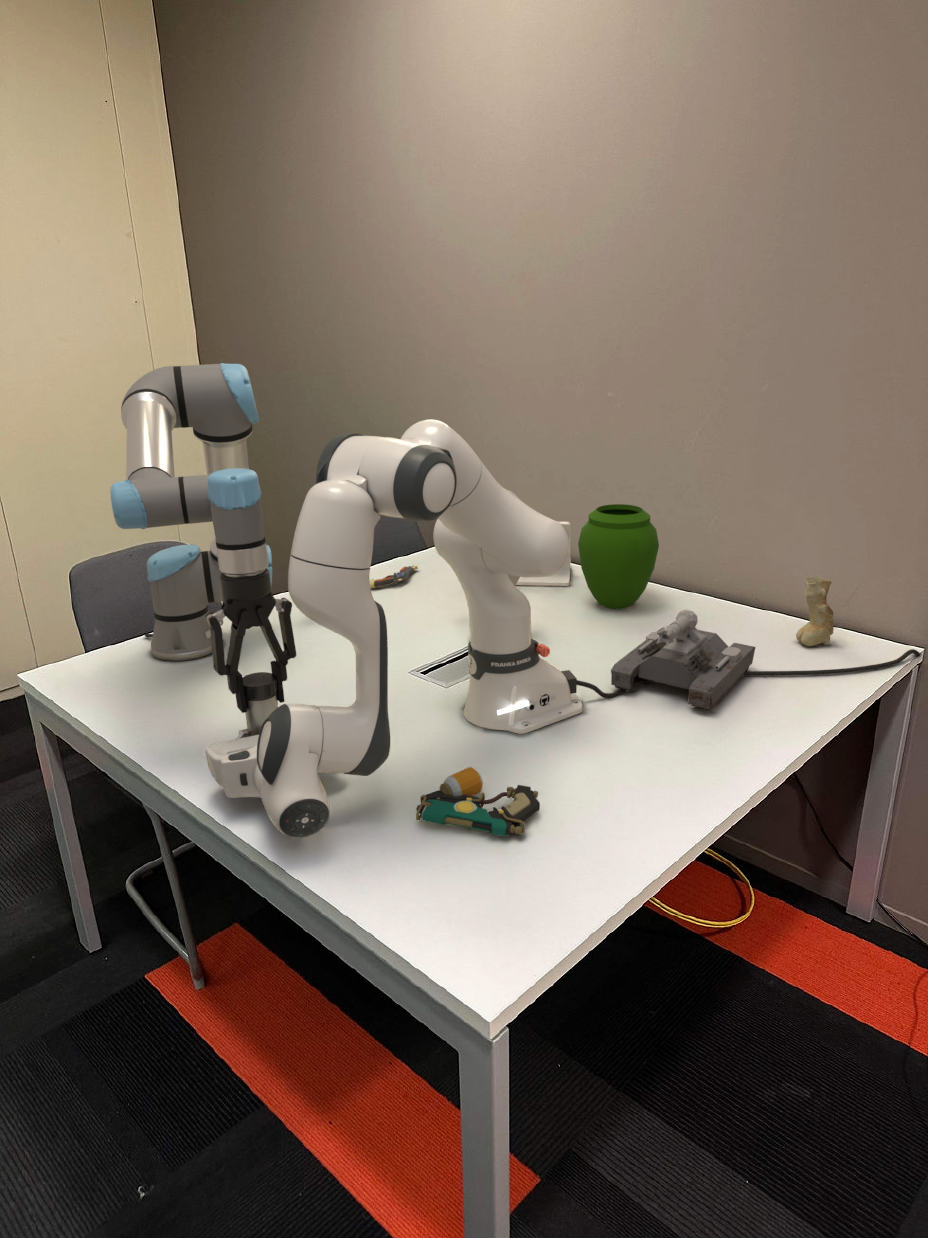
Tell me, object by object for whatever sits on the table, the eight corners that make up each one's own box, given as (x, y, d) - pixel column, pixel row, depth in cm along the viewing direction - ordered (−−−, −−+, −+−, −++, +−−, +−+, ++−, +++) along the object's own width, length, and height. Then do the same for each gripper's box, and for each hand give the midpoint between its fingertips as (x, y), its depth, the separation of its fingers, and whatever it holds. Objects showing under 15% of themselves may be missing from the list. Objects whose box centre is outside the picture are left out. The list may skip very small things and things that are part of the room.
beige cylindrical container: (285, 756, 148) (276, 674, 142) (283, 772, 143) (273, 688, 137) (254, 758, 147) (243, 677, 142) (250, 775, 142) (239, 691, 137)
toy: (661, 649, 187) (665, 584, 181) (753, 669, 176) (760, 600, 170) (609, 692, 167) (612, 620, 162) (708, 717, 156) (715, 641, 151)
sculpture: (791, 639, 190) (799, 575, 184) (822, 637, 190) (830, 573, 185) (804, 649, 184) (812, 583, 179) (836, 647, 185) (845, 581, 180)
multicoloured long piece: (366, 581, 230) (401, 578, 228) (385, 565, 248) (418, 562, 246) (367, 590, 231) (403, 587, 228) (386, 574, 248) (419, 571, 246)
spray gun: (551, 809, 131) (502, 864, 119) (459, 775, 139) (405, 824, 128) (552, 786, 129) (503, 840, 118) (459, 753, 137) (405, 800, 126)
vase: (599, 587, 227) (601, 497, 218) (668, 600, 216) (673, 505, 208) (562, 608, 212) (564, 513, 204) (634, 623, 202) (639, 523, 193)
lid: (248, 684, 143) (247, 671, 142) (282, 684, 142) (281, 672, 142) (235, 699, 138) (234, 686, 137) (271, 700, 137) (269, 687, 136)
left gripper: (292, 554, 140) (305, 682, 148) (177, 575, 131) (198, 710, 139) (309, 565, 134) (322, 698, 142) (190, 588, 125) (211, 728, 133)
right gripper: (344, 734, 134) (322, 700, 146) (211, 764, 127) (199, 725, 139) (347, 769, 136) (325, 732, 148) (216, 800, 129) (204, 759, 141)
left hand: (261, 704), depth 141 cm, fingers closed on lid, 6 cm apart
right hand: (263, 729), depth 143 cm, fingers closed on beige cylindrical container, 5 cm apart
